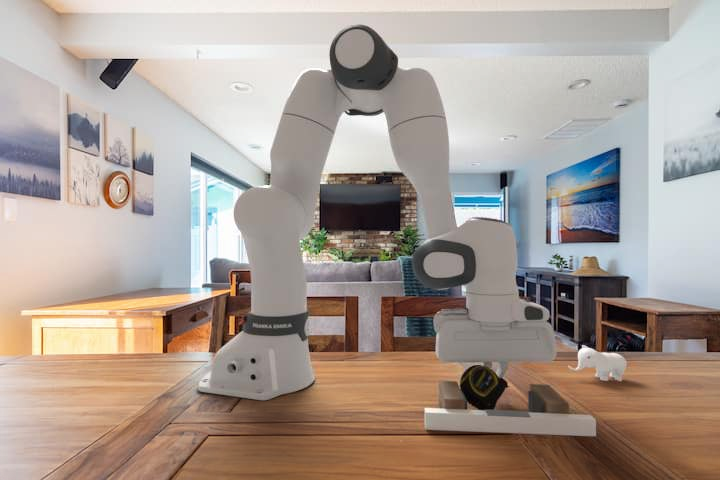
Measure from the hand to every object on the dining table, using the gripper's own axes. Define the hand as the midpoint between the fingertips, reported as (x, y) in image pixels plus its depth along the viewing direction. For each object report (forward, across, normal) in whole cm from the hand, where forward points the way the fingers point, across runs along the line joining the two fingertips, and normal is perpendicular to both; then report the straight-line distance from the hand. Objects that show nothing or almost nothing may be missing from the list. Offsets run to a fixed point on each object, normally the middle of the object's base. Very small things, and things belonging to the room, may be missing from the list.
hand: (494, 385), depth 64 cm
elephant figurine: (+4, +24, +12) cm, 27 cm away
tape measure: (+2, -2, -4) cm, 5 cm away
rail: (+3, -1, -6) cm, 7 cm away
